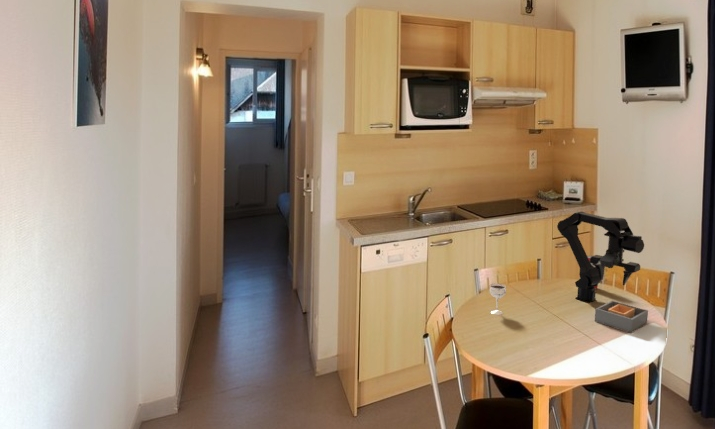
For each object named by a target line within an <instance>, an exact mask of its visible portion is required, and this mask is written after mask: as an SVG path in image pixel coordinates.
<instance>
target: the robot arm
mask: <svg viewBox="0 0 715 429" xmlns="http://www.w3.org/2000/svg"><path fill="white" fill-rule="evenodd" d="M582 223H586V224H591V225H594V226H597V227H601V228H602V229H604V230H605V231H607V232H606V233H603V235H604V237H605V236H606V237H608V244H607V249H605V250H606V251H605V254H604V255H600V254H599V255H598V254H595V255H591V256H592V257H590V261H589V259H588V257H587V256H588V254H587V252H586V250H585V248H584V246H583V244H582V242H581V239H580V236H579V226H580V225H581V224H582ZM557 231H558V232H559V233H560V235H561V236H563V237H564V238H565V239H566V240H567V243H568V244H569V247H570V249H571V251H572V254H573V255H574V258H575V260H576V262H577V265H578V267H579V273H578V274H579V279H577V281H575V287H576V288H577V295H576V296H575V300H578V301H582V302H585V303H591V302H593V301H595V300H597V299H596V293H597V292H596V290H595V287H596V286H597V285H598V286H599V284H600V283H601V281H603V279H604V276H605V268H608V269H612V268H614V267H615V266H616V267H621V268H623V269H624V270H623V277H622V278H623V279H622V286H625V285H626V284H627V282H628V280H629V278H630V277H631V276H632V275H633V273H637V272H639V271H641V265H640V263H638V262H633V261H629V262H627V263H626V262H624V258H623V257H624V253H625V251H628V252H633V253H637V254H640V253H642V252H643V250H644V249H645V243H644V240H643V239H642V238H643V237H642V236H641V235H634V232H633V231H632V229H631V228H630V226H629V224H628V221H627V219H626V218H624V217H606V216H605V217H604V216H600V215H596V214H592V213H588V212H585V211H576V212H574V213H573V214H571V215H569V216H568V217H565V218H564V219H563V220H560V221H558V223H557ZM591 263H593V264H592V265H594V266H595V267H593V266H592V265H591Z"/></svg>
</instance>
